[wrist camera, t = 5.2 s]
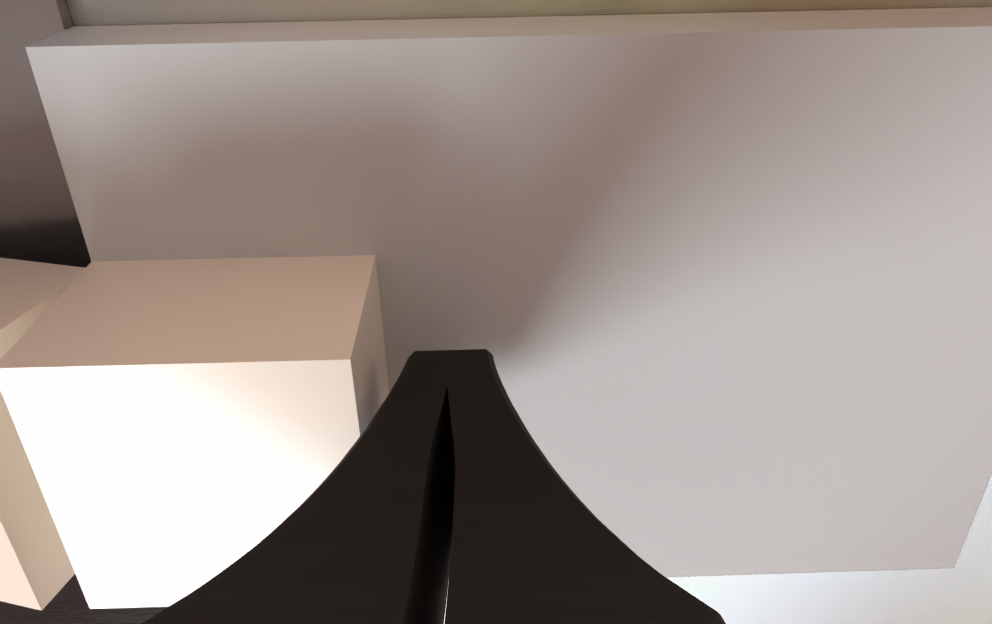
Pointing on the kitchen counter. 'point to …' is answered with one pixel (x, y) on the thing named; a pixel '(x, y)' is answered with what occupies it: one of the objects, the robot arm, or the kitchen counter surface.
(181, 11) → the kitchen counter surface
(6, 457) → the tile
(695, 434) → the grey board
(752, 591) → the kitchen counter surface
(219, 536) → the tile
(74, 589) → the grey u-shaped frame
